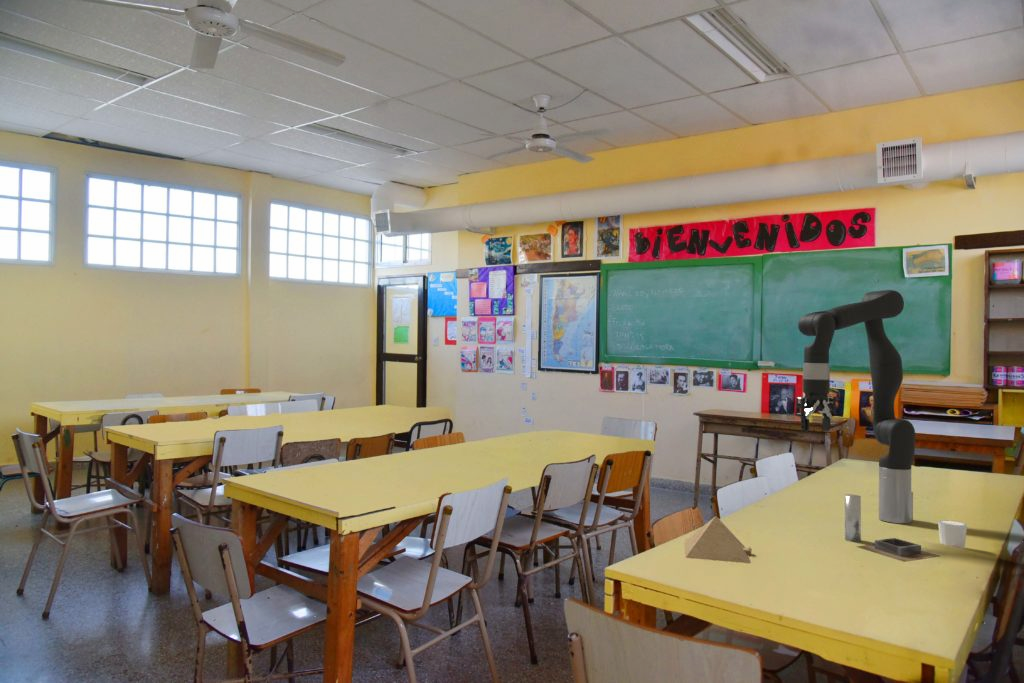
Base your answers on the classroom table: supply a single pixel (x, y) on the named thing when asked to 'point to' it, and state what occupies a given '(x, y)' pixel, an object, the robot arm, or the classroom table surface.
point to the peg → (853, 518)
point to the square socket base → (898, 549)
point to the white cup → (952, 533)
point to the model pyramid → (716, 544)
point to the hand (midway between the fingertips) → (815, 430)
